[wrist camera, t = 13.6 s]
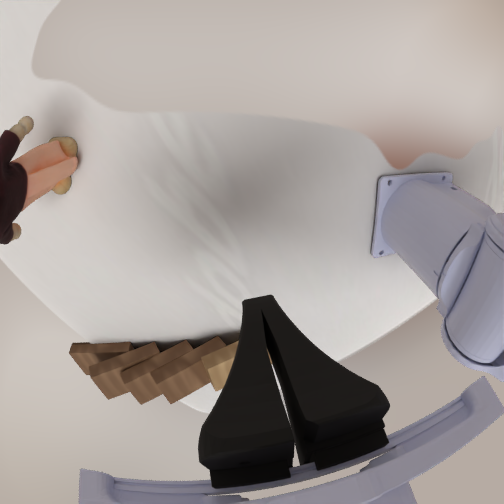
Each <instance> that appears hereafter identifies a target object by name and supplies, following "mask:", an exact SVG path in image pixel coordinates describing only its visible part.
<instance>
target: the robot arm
mask: <svg viewBox="0 0 504 504" xmlns="http://www.w3.org/2000/svg"><path fill="white" fill-rule="evenodd" d="M442 177H443V178H442ZM452 178H453V176H452V174H451V173H450V172H439V173H420V174H405V175H392V176H383V177H381V178H380V179H379V181H378V194H377V207H376V217H375V227H374V235H373V243H372V251H371V255H372V256H373V257H374V258H378V257H382V256H386V255H390V254H394V253H397V254H398V255H399V256H400V257H401V258H402V259H403V260H404V261H405V263H406V264H407V265H408V266H409V267H410V268H411V269H412V270H413V271H414V272H415V273H416V274H417V275H418V276H419V278H420V279H421V280H422V281H423V282H424V283H425V284H426V285H427V286H428V288H429V289H430V290H431V291H432V292H433V293H434V294H435V296H436V297H437V298H438V299H439V303H438V306H437V310H438V311H439V312H440V314H441V315H442V316H443V318H444V319H443V321H442V325H441V335H442V339H443V342H444V344H445V346H446V348H447V349H448V351H449V352H450V353H451V355H452V356H453V357H454V358H455V359H456V360H457V361H458V362H460V363H461V364H462V365H464V366H466V367H468V368H470V369H473V370H478V371H484V372H487V373H489V374H491V375H493V376H494V377H496V378H497V379H499V380H500V381H503V382H504V213H497V214H496V213H495V211H494V210H493V209H492V208H491V207H490V206H488V205H487V204H485V203H484V202H482V201H481V200H479V199H477V198H476V197H474V196H473V195H471V194H469V193H468V192H466V191H464V190H463V189H461V188H459V187H457V186H456V185H454V184H452ZM389 180H390V182H389V184H388V181H389ZM380 251H381V252H380ZM242 306H243V315H242V325H241V331H240V337H239V342H238V346H237V350H236V354H235V357H234V361H233V364H232V367H231V370H230V372H229V375H228V378H227V380H226V383H225V385H224V387H223V389H222V392H221V394H220V396H219V398H218V400H217V402H216V404H215V406H214V407H213V409H212V411H211V412H210V414H209V416H208V417H207V419H206V421H205V422H204V424H203V425H202V428H201V432H200V437H199V444H198V452H199V462H200V463H201V464H202V465H204V466H205V467H206V468H208V469H209V470H210V476H211V480H199V481H152V480H136V479H125V478H116V477H112V476H111V475H109V474H106V473H103V472H98V471H93V470H87V469H80V480H79V504H417V502H416V500H415V497H414V495H413V492H412V489H411V487H410V484H409V481H410V480H412V479H414V478H416V477H418V476H419V475H421V474H423V473H424V472H426V471H428V470H429V469H431V468H433V467H434V466H436V465H437V464H439V463H440V462H442V461H444V460H445V459H447V458H448V457H450V456H451V455H452V454H454V453H455V452H456V451H458V450H459V449H461V448H462V447H464V446H465V445H466V444H467V443H469V442H470V441H471V440H473V439H474V438H475V437H476V436H478V435H479V434H480V433H481V432H482V431H484V430H485V429H486V428H487V427H488V426H490V425H491V424H492V423H493V422H494V421H495V420H496V419H498V418H499V417H500V416H501V415H502V414H503V413H504V407H503V405H502V404H501V402H500V400H499V399H498V397H497V395H496V394H495V392H494V390H493V389H492V387H491V385H490V384H489V382H488V381H487V379H486V378H485V376H482V377H481V378H480V379H478V380H477V381H475V382H474V383H473V384H471V385H470V386H469V387H467V388H466V389H465V390H464V391H463V393H462V394H461V396H459V397H458V398H456V399H455V400H453V401H451V402H450V403H448V404H447V405H445V406H443V407H442V408H440V409H438V410H437V411H435V412H433V413H432V414H430V415H428V416H426V417H424V418H422V419H420V420H419V421H417V422H415V423H413V424H411V425H409V426H407V427H405V428H403V429H401V430H399V431H396V432H394V433H392V434H390V435H388V436H387V435H386V433H385V431H384V429H383V428H384V427H385V424H384V422H383V420H382V418H383V417H384V416H385V414H386V413H387V411H388V410H389V408H390V404H389V401H388V399H387V397H386V396H385V394H384V393H383V392H382V390H381V389H380V388H379V386H378V385H376V384H374V383H372V382H370V381H368V380H366V379H364V378H362V377H360V376H358V375H356V374H355V373H353V372H351V371H349V370H348V369H346V368H345V367H343V366H342V365H340V364H339V363H337V362H336V361H334V360H333V359H331V358H330V357H329V356H328V355H326V354H325V353H324V352H322V351H321V350H320V349H319V348H318V347H316V346H315V345H314V344H313V343H312V342H311V341H310V340H309V339H308V338H307V337H306V336H305V335H304V334H303V333H302V332H301V331H300V330H299V329H298V328H297V327H296V326H295V325H294V323H293V322H292V321H291V320H290V319H289V318H288V316H287V315H286V314H285V313H284V311H283V310H282V309H281V307H280V306H279V304H278V303H277V301H276V300H275V298H274V296H272V295H266V296H261V297H256V298H251V299H246V300H244V301H243V302H242ZM267 350H268V351H267ZM268 353H269V355H270V358H271V361H272V364H273V367H274V369H275V372H276V375H277V378H278V380H279V383H280V386H281V389H282V393H283V397H284V400H285V404H286V408H287V412H288V417H289V420H288V417H287V414H286V411H285V408H284V405H283V402H282V399H281V395H280V392H279V389H278V386H277V382H276V379H275V376H274V372H273V369H272V365H271V362H270V358H269V355H268ZM289 421H290V423H289ZM290 425H291V426H290ZM294 445H295V446H296V450H297V454H298V459H299V463H300V466H297V467H293V466H292V464H293V458H294ZM390 450H391V451H390ZM388 451H389V452H388ZM386 452H387V453H386ZM384 453H385V454H384ZM381 454H383V455H382V456H379V455H381ZM376 456H379V457H378V458H375V459H373V460H371V461H370V462H369V464H368V465H367V466H366V467H364V468H362V469H361V470H360V472H359V473H356V474H353V475H350V476H347V477H344V478H341V479H338V480H335V481H331V482H328V483H324V484H321V485H318V486H314V487H310V488H306V489H302V490H299V491H294V492H290V493H286V494H281V495H277V496H272V497H268V498H262V499H257V500H250V501H249V499H248V498H241V496H240V495H226V496H225V495H222V496H208V495H220V494H231V493H241V492H249V491H256V490H262V489H268V488H274V487H278V486H284V485H288V484H293V483H297V482H301V481H305V480H309V479H313V478H317V477H320V476H324V475H327V474H330V473H333V472H336V471H339V470H342V469H345V468H348V467H351V466H354V465H356V464H359V463H362V462H364V461H367V460H369V459H372V458H374V457H376Z"/></svg>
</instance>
